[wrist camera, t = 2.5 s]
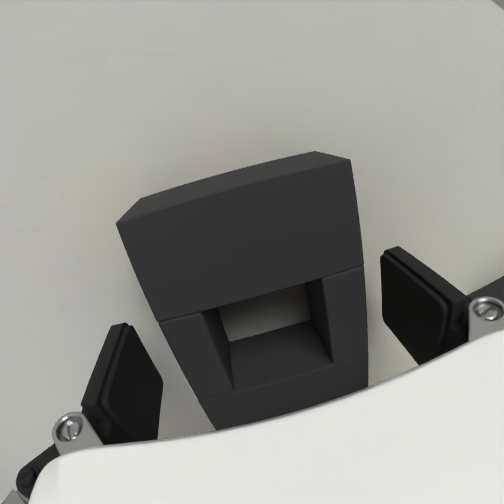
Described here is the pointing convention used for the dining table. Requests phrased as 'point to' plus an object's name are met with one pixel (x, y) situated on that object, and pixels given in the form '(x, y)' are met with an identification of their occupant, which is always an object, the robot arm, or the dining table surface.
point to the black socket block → (257, 283)
